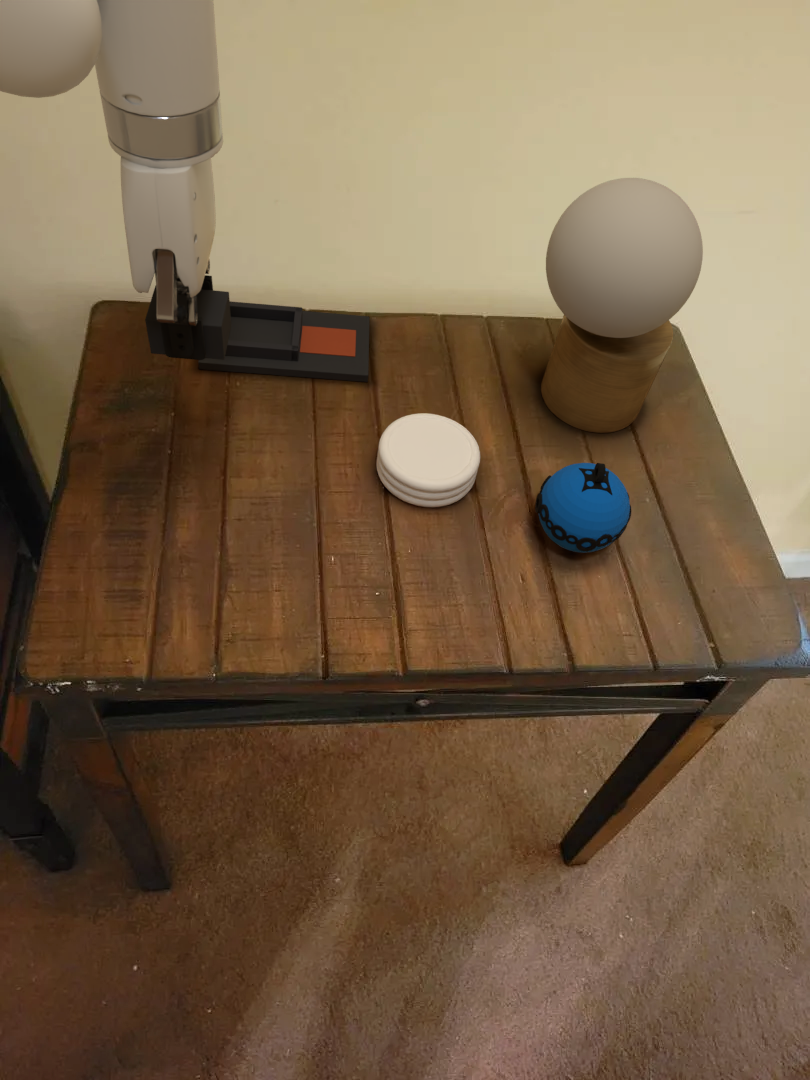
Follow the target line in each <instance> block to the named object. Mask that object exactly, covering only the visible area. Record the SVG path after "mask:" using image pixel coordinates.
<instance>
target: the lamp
mask: <svg viewBox="0 0 810 1080" xmlns="http://www.w3.org/2000/svg"><path fill="white" fill-rule="evenodd" d="M554 225H555V226H554V228H553V230H552V231H551V234H550V237H549V240H548V244H547V249H546V255H545V256H546V257H545V275H546V281H547V285H548V289H549V292H550V294H551V296H552V299H553V301H554V302H555V304H556V306H557V307H558V309H559V310H560V312H561V313H562V314H563V316H562V319H561V323H560V325H559V329H558V332H557V334H556V337H555V341H554V344H553V347H552V349H551V353H550V355H549V359H548V362H547V364H546V369H545V371H544V374H543V377H542V380H541V384H540V391H541V396H542V399H543V402H544V404H545V406H547V408H548V410H549V411H550V412H551V413H552V414H553V415H554V416H555V417H557V418H558V419H559V420H560V421H562V422H563V423H565V424H567V425H569V426H570V427H573V428H575V429H578V430H581V431H586V432H590V433H597V434H609V433H614V432H619V431H621V430H623V429H625V428H627V427H629V426H630V425H631V424H632V423H633V422H634V421H636V419H637V418H638V416H639V413H640V411H641V409H642V407H643V405H644V403H645V401H646V400H647V396H648V395H649V393H650V390H651V388H652V386H653V384H654V381H655V379H656V377H657V376H658V373H659V372H660V369H661V367H662V365H663V364H664V363H663V362H664V360H665V358H666V356H667V354H668V352H669V350H670V349H671V346H672V343H673V341H674V328H673V326H672V323H671V321H670V320H671V319H672V318H673V317H674V316H675V315H676V314H678V313H679V312H680V310H681V309H682V308H683V306H684V305H685V304H686V303H687V302H688V300H689V298H690V297H691V295H692V293H693V292H694V290H695V288H696V285H697V283H698V280H699V277H700V274H701V270H702V265H703V257H704V256H703V255H704V246H703V245H704V244H703V238H702V233H701V228H700V226H699V223H698V221H697V218H696V217H695V213H694V212H693V211H692V209H691V208H690V206H689V204H687V202H685V200H684V199H683V198H682V197H681V196H680V195H679V194H677V193H676V192H675V191H674V190H672V189H671V188H669V187H668V186H666V185H664V184H662V183H660V182H657V181H654V180H651V179H648V178H647V179H646V178H640V177H620V178H615V179H611V180H607V181H605V182H602V183H599V184H597V185H595V186H593V187H590V188H589V189H588V190H586V191H585V192H583V193H581V194H580V195H579V196H578V197H577V198H576V199H574V200H573V201H572V202H571V203H570V204H569V205H568V206H567V207H566V209H564V211H563V213H562V214H561V216H560V217H559V218H558V220H557V222H556V223H555V224H554Z"/></svg>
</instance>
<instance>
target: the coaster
mask: <svg viewBox="0 0 810 1080" xmlns="http://www.w3.org/2000/svg"><path fill="white" fill-rule="evenodd" d="M376 456H377V457H376V464H375V465H376V471H377V474H378V478H379V479H380V482H381V483H382V484H383V486H384V487H385V488H386V490H387V491H388V492H390V493H391V494H392V495H393V496H394V497H396V498H398V499H399V500H401V501H403V502H405V503H407V504H410V505H414V506H418V507H423V508H440V507H446V506H450V505H452V504H455V503H456V502H459V501H460V500H462V499H463V498H464V497H465V496H466V495H467V494H468V493H469V492H470V491H471V489H472V488H473V487H474V484H475V481H476V479H477V475H478V471H479V468H480V463H481V450H480V447H479V444H478V442H477V439H476V438H475V437H474V435H473V434H472V432H470V431H469V430H468V429H467V428H466V427H465V426H464V425H462V424H460V423H459V422H457V421H456V420H453V419H451V418H449V417H446V416H444V415H439V414H435V413H427V412H423V413H420V412H419V413H411V414H408V415H404V416H402V417H399V418H397V419H396V420H394V421H392V422H391V423H390V424H389V425H388V426H387V427H386V428H385V429H384V430H383V432H382V434H381V435H380V438H379V440H378V449H377V455H376Z"/></svg>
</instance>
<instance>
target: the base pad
mask: <svg viewBox="0 0 810 1080" xmlns="http://www.w3.org/2000/svg"><path fill="white" fill-rule="evenodd" d="M230 313H231V329H230V334H229V339H228V344H227V349H226V354H225V359H224V360H222V359H210V358H204V359H203V360H197V361H198V362H197V363H198V365H197V366H198V370H204V371H205V370H206V371H219V372H228V373H229V372H231V373H241V374H242V373H245V374H257V375H270V376H282V377H296V378H308V379H309V378H310V379H323V380H334V381H336V380H337V381H347V382H360V383H361V382H362V383H368V382H369V367H370V366H369V364H370V363H369V361H370V316H369V315H357V314H345V313H333V312H321V311H311V310H310V311H309V310H303V307H301V306H289V305H288V306H287V305H277V304H265V303H253V302H243V301H232V300H230Z"/></svg>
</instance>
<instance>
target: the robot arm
mask: <svg viewBox="0 0 810 1080" xmlns="http://www.w3.org/2000/svg"><path fill="white" fill-rule="evenodd" d="M217 45H218V44H217V33H216V18H215V4H214V0H0V92H2V93H6V94H10V95H14V96H18V97H25V98H35V99H40V98H41V99H42V98H51V97H56V96H58V95H62V94H64V93H67V92H69V91H70V90H73V89H74V88H76V87H77V86H80V84H81V83H82V82H83V81H84V80H85V79H86V78H87V77H88V76H89V75H90V73H91V72H92V70H93V68H95V73H96V79H97V85H98V90H99V94H100V95H99V96H100V100H101V105H102V111H103V116H104V122H105V128H106V132H107V138H108V143H109V146H110V147H111V149H112V150H113V151H114V153H116V154H117V155H118V156H119V157H120V189H121V191H120V192H121V203H122V213H123V222H124V223H123V224H124V231H125V240H126V246H127V253H128V254H127V255H128V261H129V268H130V269H129V270H130V276H131V282H132V286H133V288H134V290H135V291H136V292H137V293H139V294H142V293H145V294H149V291H150V288H151V286H152V282H153V279H154V277H155V286H156V290H157V321H158V322H160V325H161V331H162V337H163V344H164V350H165V356H166V357H168V358H170V359H182V360H183V359H184V360H196V361H199V360H203V359H204V358H205V355H206V350H205V340H204V331H203V322H202V317H198V314H197V296H196V295H197V294H198V293H199V292H200V290H201V289H203V290H214V286H213V285H214V283H213V275H209V274H210V272H211V260H210V257H211V252H212V248H213V244H214V239H215V232H216V220H217V219H216V214H217V213H216V197H215V184H214V183H215V182H214V173H213V164H212V163H213V162H212V158H214V157H215V155H217V154H218V153H219V152H220V151H221V149H222V147H223V144H224V133H223V117H222V103H221V87H220V75H219V62H218V59H219V58H218V48H217ZM177 295H187V307H185V306H183V305H178V304H177Z"/></svg>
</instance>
